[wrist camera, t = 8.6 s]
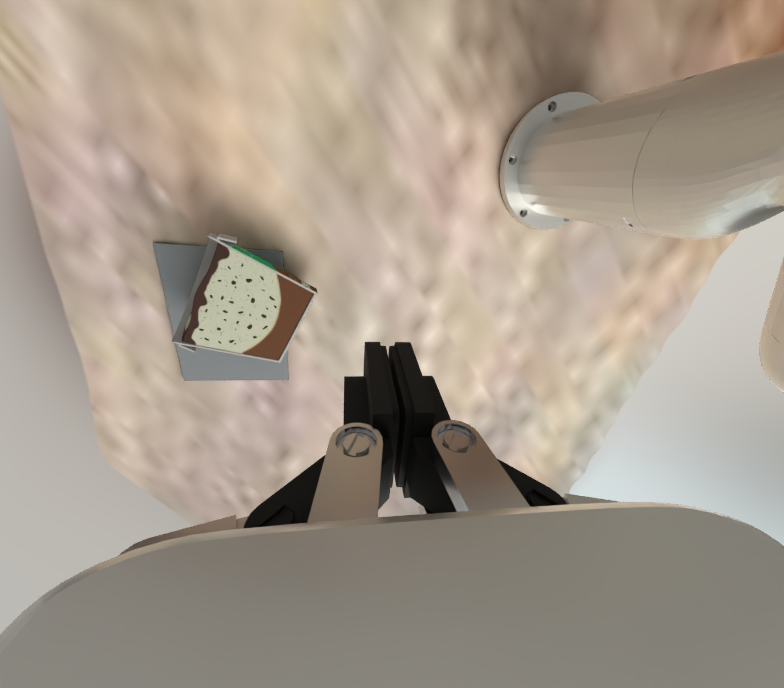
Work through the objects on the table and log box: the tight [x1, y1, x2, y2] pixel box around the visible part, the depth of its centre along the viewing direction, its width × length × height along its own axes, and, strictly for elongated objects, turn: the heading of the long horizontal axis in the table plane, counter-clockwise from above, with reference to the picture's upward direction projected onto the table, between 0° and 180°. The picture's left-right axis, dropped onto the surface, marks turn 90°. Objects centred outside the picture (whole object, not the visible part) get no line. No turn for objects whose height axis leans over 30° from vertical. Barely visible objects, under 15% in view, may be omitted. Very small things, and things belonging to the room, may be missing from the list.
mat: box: [153, 243, 289, 381], centre depth 36 cm, size 12×16×1 cm
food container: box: [172, 232, 318, 363], centre depth 33 cm, size 12×6×10 cm
